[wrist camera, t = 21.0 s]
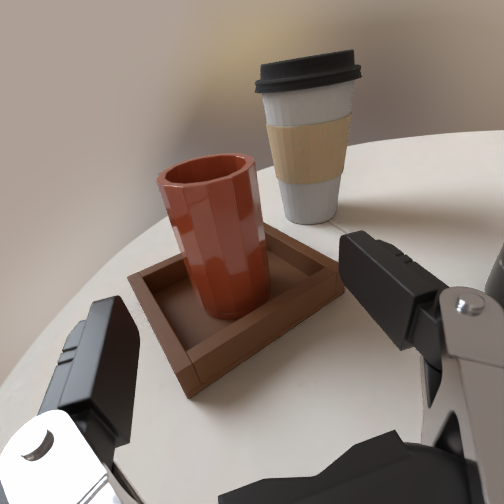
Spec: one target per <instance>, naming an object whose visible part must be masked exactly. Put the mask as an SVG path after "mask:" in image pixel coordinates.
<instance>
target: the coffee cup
mask: <svg viewBox="0 0 504 504" xmlns="http://www.w3.org/2000/svg"><path fill="white" fill-rule="evenodd" d="M360 70H361V66H360V65H355V64H354V50H345V51H340V52H333V53H327V54H321V55H314V56H309V57H303V58H296V59H291V60H285V61H279V62H273V63H268V64H263V65H261V79H260V80H257V81H256V82H255V85H256V90H255V93H262V97H263V102H264V108H265V113H266V118H267V122H266V126H267V132H268V136H269V142H270V147H271V152H272V157H273V162H274V167H275V173H276V177H277V179H278V181H279V186H280V191H281V196H282V201H283V206H284V211H285V216H286V218H287V219H288V220H290V221H291V222H294V223H298V224H317V223H322V222H325V221H328V220H330V219H331V218H333V216H334V215H335V213H336V207H337V200H338V194H339V187H340V180H341V174H342V173H343V169H344V162H345V156H346V149H347V142H348V134H349V128H350V120H351V114H352V113H351V111H350V109H351V102H352V95H353V88H354V80H355V79H358V78H361V77H362V76H361V72H360Z"/></svg>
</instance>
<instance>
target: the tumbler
mask: <svg viewBox="0 0 504 504" xmlns="http://www.w3.org/2000/svg"><path fill="white" fill-rule="evenodd" d="M156 182H157V184H158V187H159V190H160V193H161V196H162V199H163V202H164V205H165V208H166V211H167V214H168V217H169V219H170V222H171V225H172V228H173V231H174V234H175V237H176V240H177V243H178V246H179V249H180V252H181V255H182V257H183V260H184V263H185V266H186V269H187V272H188V275H189V278H190V281H191V284H192V287H193V290H194V292H195V295H196V298H197V300H198V302H199V304H200V307H201V308H202V310H203V311H204V312H205V313H207V314H208V315H210V316H212V317H214V318H218V319H225V320H231V319H238V318H242V317H244V316H246V315H247V314H249V313H251V312H252V311H254V310H256V309H257V308H259V307H261V306H262V305H264V304H265V303H266V302H267V300H268V299H269V297H270V294H271V277H270V270H269V263H268V255H267V248H266V240H265V233H264V225H263V218H262V210H261V203H260V195H259V188H258V181H257V173H256V167H255V161H254V160H253V158H252V157H251V156H248V155H245V154H240V153H221V154H214V155H206V156H202V157H197V158H193V159H189V160H186V161H183V162H180V163H178V164H175V165H172V166H170V167H169V168H167V169H166V170H164V171H163V172H161V173H160V174H159V175H158V178H157V180H156Z"/></svg>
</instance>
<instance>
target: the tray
mask: <svg viewBox="0 0 504 504" xmlns="http://www.w3.org/2000/svg"><path fill="white" fill-rule="evenodd" d="M263 225H264V233H265V240H266V248H267V255H268V263H269V270H270V277H271V294H270V297H269V299H268V300H267V302H266V303H265V304H264V305H262V306H261V307H259V308H257V309H256V310H254V311H252V312H251V313H249V314H247V315H246V316H244V317H242V318H238V319H231V320H225V319H218V318H214V317H212V316H210V315H208V314H207V313H205V312H204V311H203V310H202V308H201V307H200V304H199V302H198V300H197V298H196V295H195V292H194V290H193V287H192V284H191V281H190V278H189V275H188V272H187V269H186V266H185V263H184V260H183V257H182V255H181V253H180V254H178V255H175V256H173V257H171V258H169V259H167V260H164V261H162V262H160V263H158V264H155V265H153V266H151V267H149V268H146V269H144V270H142V271H140V272H137V273H135V274H133V275H130V276H128V277H127V279H128V281H129V283H130V285H131V287H132V289H133V291H134V293H135V295H136V297H137V299H138V301H139V303H140V305H141V307H142V309H143V311H144V313H145V315H146V317H147V319H148V321H149V323H150V325H151V327H152V329H153V331H154V333H155V335H156V337H157V339H158V341H159V343H160V345H161V347H162V349H163V351H164V353H165V355H166V357H167V359H168V361H169V363H170V365H171V367H172V369H173V371H174V373H175V375H176V377H177V379H178V381H179V383H180V385H181V387H182V389H183V391H184V393H185V395H186V397H187V399H190V398H191V397H193V396H194V395H195V394H197V393H198V392H200V391H201V390H203V389H204V388H206V387H207V386H209V385H210V384H212V383H213V382H214V381H216V380H217V379H219V378H220V377H222V376H223V375H225V374H226V373H228V372H229V371H231V370H232V369H233V368H235V367H236V366H238V365H239V364H241V363H242V362H244V361H245V360H247V359H248V358H250V357H251V356H252V355H254V354H255V353H257V352H258V351H260V350H261V349H263V348H264V347H266V346H267V345H269V344H270V343H271V342H273V341H274V340H276V339H277V338H279V337H280V336H282V335H283V334H285V333H286V332H288V331H289V330H290V329H292V328H293V327H295V326H296V325H298V324H299V323H301V322H302V321H304V320H305V319H306V318H308V317H309V316H311V315H312V314H314V313H315V312H317V311H318V310H320V309H321V308H323V307H324V306H325V305H327V304H328V303H330V302H331V301H333V300H334V299H336V298H337V297H339V296H340V295H342V294H343V293H344V290H345V288H344V287H345V285H344V284H343V282H342V280H341V278H340V275H339V270H338V265H339V263H338V262H336V261H334V260H332V259H331V258H329V257H327V256H325V255H323V254H321V253H319V252H318V251H316V250H314V249H312V248H310V247H308V246H307V245H305V244H303V243H301V242H299V241H297V240H295V239H294V238H292V237H290V236H288V235H286V234H284V233H283V232H281V231H279V230H277V229H275V228H273V227H271V226H270V225H268V224H266V223H264V222H263Z"/></svg>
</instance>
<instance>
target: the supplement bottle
mask: <svg viewBox="0 0 504 504" xmlns="http://www.w3.org/2000/svg"><path fill="white" fill-rule="evenodd" d="M485 293H486V294H488V295H490V296H491V297H493V298H494V299H504V244H503V246H502V248H501V250H500V253H499V255H498V257H497V259H496V261H495V264H494V266H493V268H492V270H491V273H490V275H489V277H488V280H487V282H486V285H485Z"/></svg>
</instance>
